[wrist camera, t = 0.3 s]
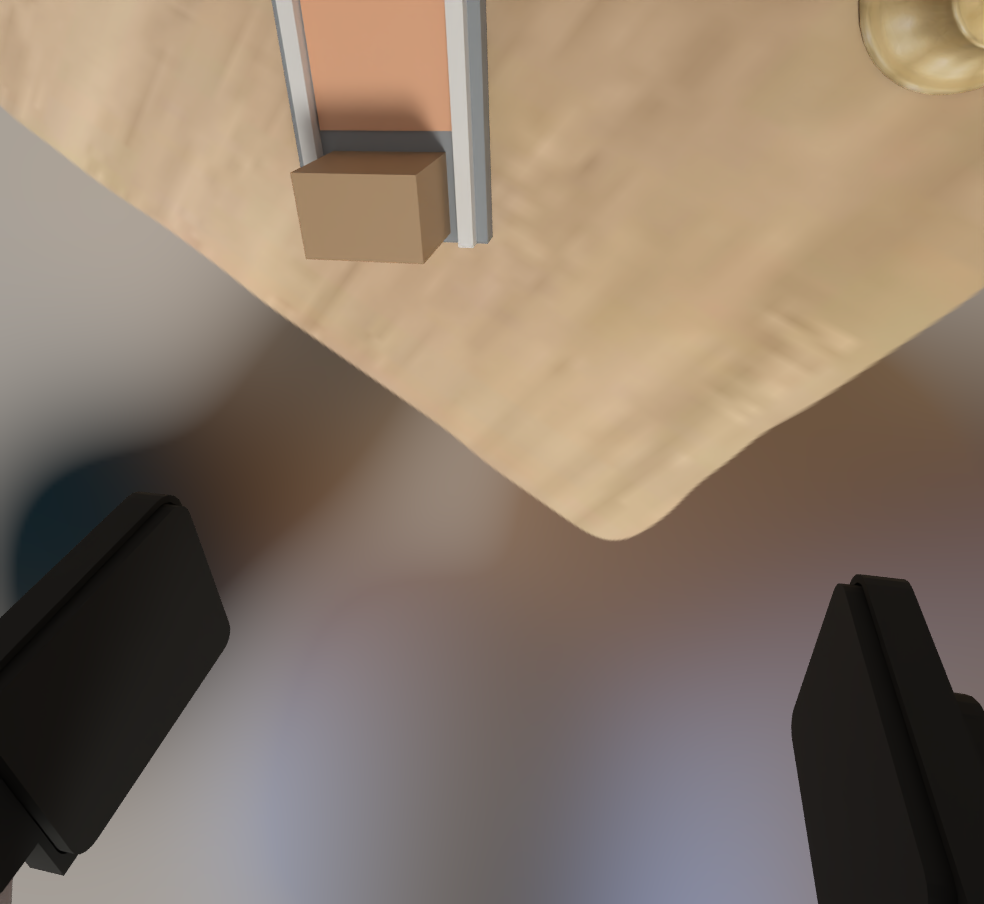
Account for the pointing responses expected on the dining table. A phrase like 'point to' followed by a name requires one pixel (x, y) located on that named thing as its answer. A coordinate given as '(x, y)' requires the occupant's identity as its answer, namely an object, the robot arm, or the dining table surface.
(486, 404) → the dining table surface
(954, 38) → the hand bell
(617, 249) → the dining table surface
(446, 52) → the rail
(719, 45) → the dining table surface
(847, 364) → the dining table surface
